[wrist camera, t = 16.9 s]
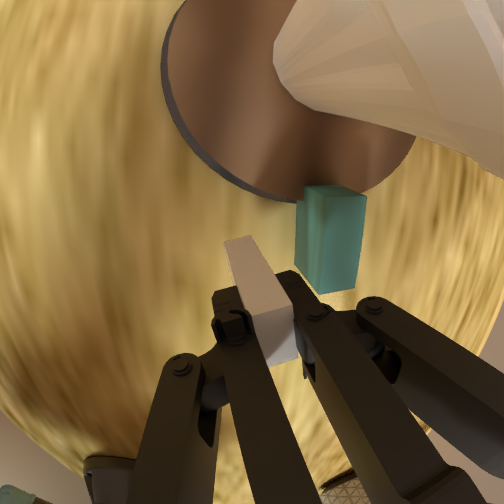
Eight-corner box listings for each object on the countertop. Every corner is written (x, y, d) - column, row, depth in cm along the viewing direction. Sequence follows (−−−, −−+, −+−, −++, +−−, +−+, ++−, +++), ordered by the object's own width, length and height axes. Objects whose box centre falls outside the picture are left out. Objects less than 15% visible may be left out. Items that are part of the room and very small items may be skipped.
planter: (298, 493, 49) (319, 545, 33) (362, 460, 47) (392, 515, 31) (329, 492, 58) (348, 534, 41) (382, 463, 56) (406, 506, 39)
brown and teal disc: (184, 274, 18) (185, 313, 14) (175, -40, 9) (175, -76, 5) (399, 247, 21) (433, 270, 17) (400, 0, 12) (436, -12, 8)
